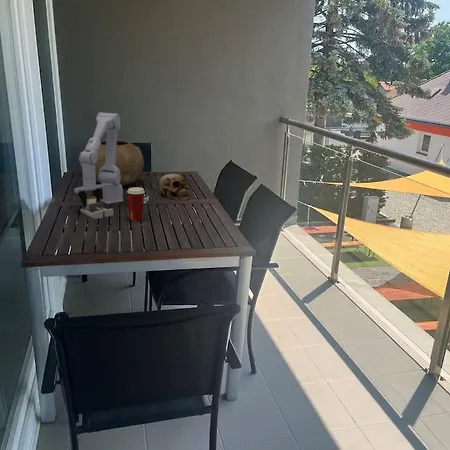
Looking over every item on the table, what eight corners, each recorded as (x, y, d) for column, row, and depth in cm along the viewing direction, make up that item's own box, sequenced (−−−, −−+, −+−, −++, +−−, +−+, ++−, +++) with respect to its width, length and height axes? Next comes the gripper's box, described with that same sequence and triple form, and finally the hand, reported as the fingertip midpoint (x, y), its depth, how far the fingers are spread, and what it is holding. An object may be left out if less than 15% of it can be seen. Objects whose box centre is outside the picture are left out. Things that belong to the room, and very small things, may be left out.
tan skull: (189, 200, 237) (186, 175, 234) (156, 202, 239) (154, 177, 235) (192, 194, 252) (190, 170, 249) (162, 196, 254) (160, 172, 250)
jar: (92, 208, 217) (91, 194, 214) (99, 211, 213) (98, 196, 211) (82, 210, 213) (81, 195, 211) (88, 213, 209) (88, 198, 207)
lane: (98, 208, 217) (98, 202, 216) (113, 215, 208) (113, 209, 207) (80, 211, 211) (80, 205, 210) (94, 219, 201) (94, 212, 200)
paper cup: (148, 218, 206) (147, 188, 202) (139, 222, 199) (139, 191, 195) (133, 215, 208) (132, 186, 204) (124, 220, 202) (123, 189, 197)
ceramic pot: (117, 175, 289) (116, 136, 281) (155, 184, 270) (155, 142, 263) (74, 183, 263) (71, 140, 255) (112, 194, 244) (110, 147, 237)
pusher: (101, 211, 212) (101, 201, 211) (109, 214, 207) (109, 205, 206) (89, 213, 208) (88, 203, 206) (97, 217, 203) (96, 207, 201)
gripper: (98, 174, 215) (100, 201, 220) (70, 177, 206) (72, 206, 210) (106, 176, 211) (107, 204, 215) (78, 180, 201) (79, 209, 205)
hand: (90, 205), depth 212 cm, fingers closed on jar, 5 cm apart
